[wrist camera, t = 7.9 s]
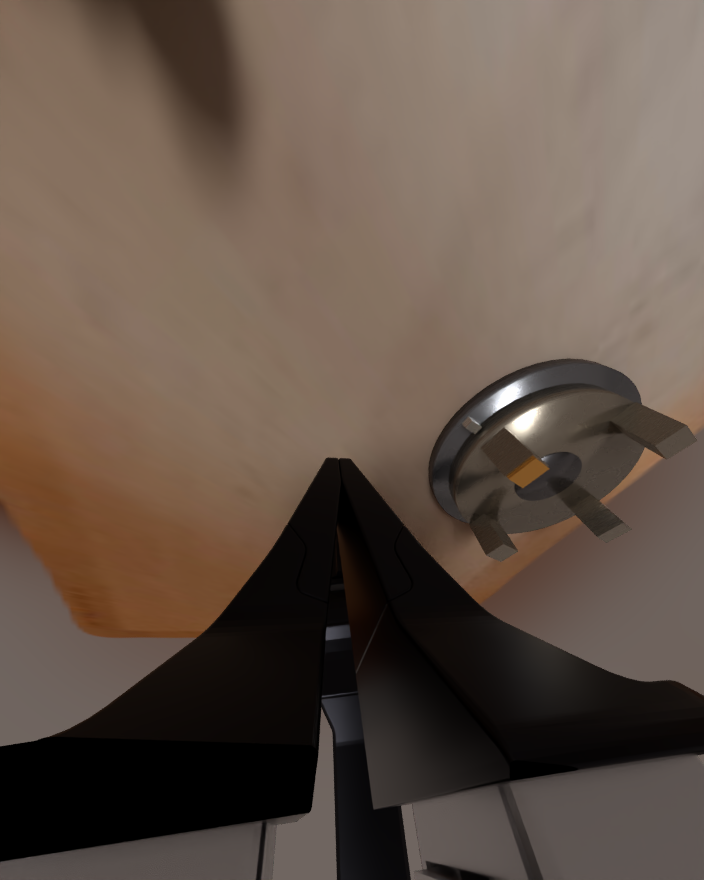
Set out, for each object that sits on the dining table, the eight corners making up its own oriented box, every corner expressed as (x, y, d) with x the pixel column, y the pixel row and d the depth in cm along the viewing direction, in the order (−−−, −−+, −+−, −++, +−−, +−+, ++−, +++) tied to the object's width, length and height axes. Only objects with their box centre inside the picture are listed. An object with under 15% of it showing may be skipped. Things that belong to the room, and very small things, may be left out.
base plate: (552, 518, 34) (564, 532, 33) (407, 515, 31) (412, 530, 30) (677, 371, 23) (707, 380, 22) (472, 345, 20) (487, 353, 19)
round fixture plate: (654, 441, 26) (728, 482, 21) (510, 535, 33) (542, 581, 28) (570, 341, 19) (651, 367, 14) (413, 485, 26) (434, 535, 22)
